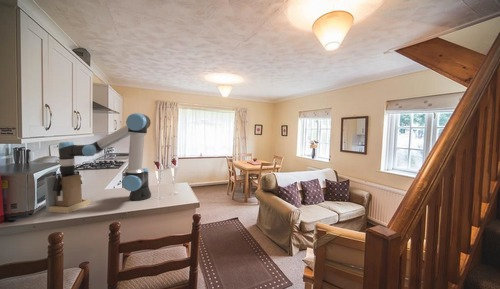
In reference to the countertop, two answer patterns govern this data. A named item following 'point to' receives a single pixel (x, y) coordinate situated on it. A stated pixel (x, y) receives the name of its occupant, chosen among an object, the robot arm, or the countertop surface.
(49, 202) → the board
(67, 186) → the wooden block
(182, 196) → the countertop surface
